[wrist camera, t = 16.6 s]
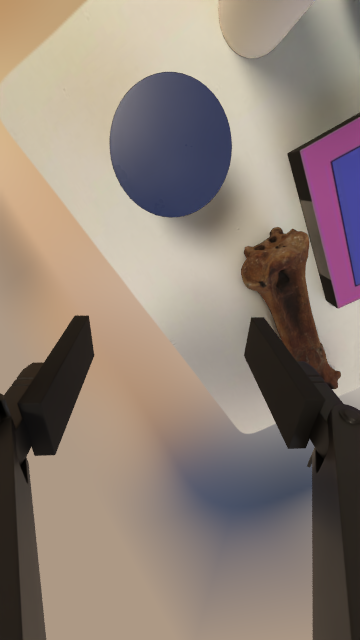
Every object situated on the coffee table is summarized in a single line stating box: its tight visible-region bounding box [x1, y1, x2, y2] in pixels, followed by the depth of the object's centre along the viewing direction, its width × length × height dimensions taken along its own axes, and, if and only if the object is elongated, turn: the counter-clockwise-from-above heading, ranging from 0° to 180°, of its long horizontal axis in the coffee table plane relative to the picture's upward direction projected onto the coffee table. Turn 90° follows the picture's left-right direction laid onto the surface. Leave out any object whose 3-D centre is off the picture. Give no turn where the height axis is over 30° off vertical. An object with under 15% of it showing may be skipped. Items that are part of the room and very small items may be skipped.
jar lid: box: [110, 72, 232, 217], centre depth 19 cm, size 8×8×2 cm
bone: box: [241, 227, 341, 389], centre depth 37 cm, size 9×8×30 cm
